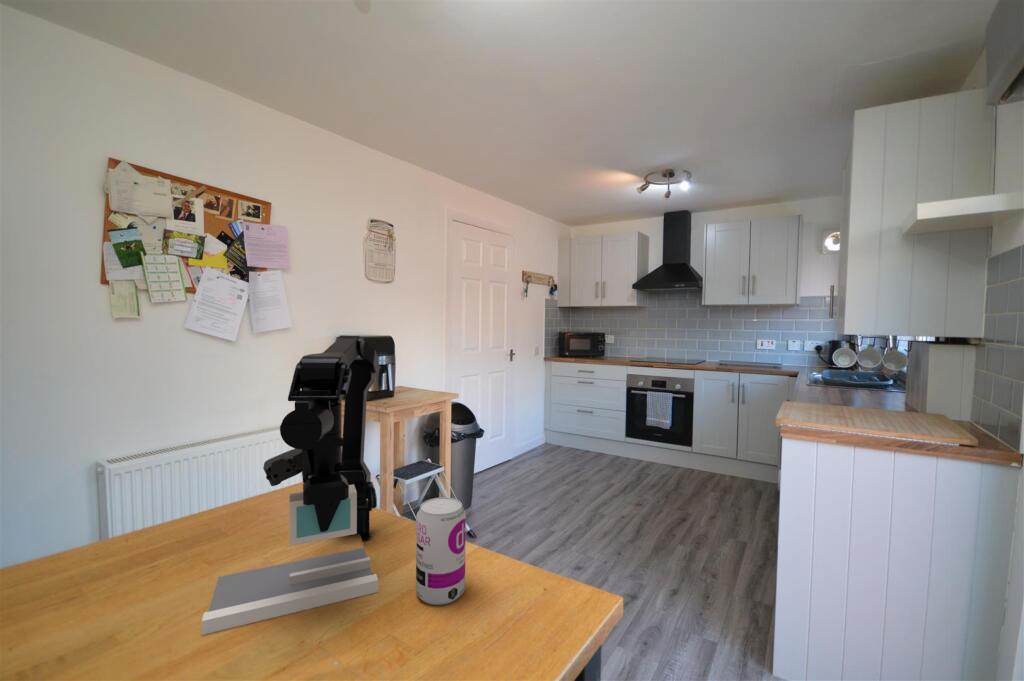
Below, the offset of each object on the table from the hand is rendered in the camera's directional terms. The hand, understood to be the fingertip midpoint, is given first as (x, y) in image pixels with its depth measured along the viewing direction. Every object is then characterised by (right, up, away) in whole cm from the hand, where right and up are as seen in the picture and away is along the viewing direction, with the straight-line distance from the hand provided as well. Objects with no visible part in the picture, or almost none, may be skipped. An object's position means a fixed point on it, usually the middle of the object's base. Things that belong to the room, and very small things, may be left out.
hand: (323, 525), depth 74 cm
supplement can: (+19, -12, +2) cm, 23 cm away
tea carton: (0, -2, 0) cm, 2 cm away
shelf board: (-5, -12, +1) cm, 13 cm away
